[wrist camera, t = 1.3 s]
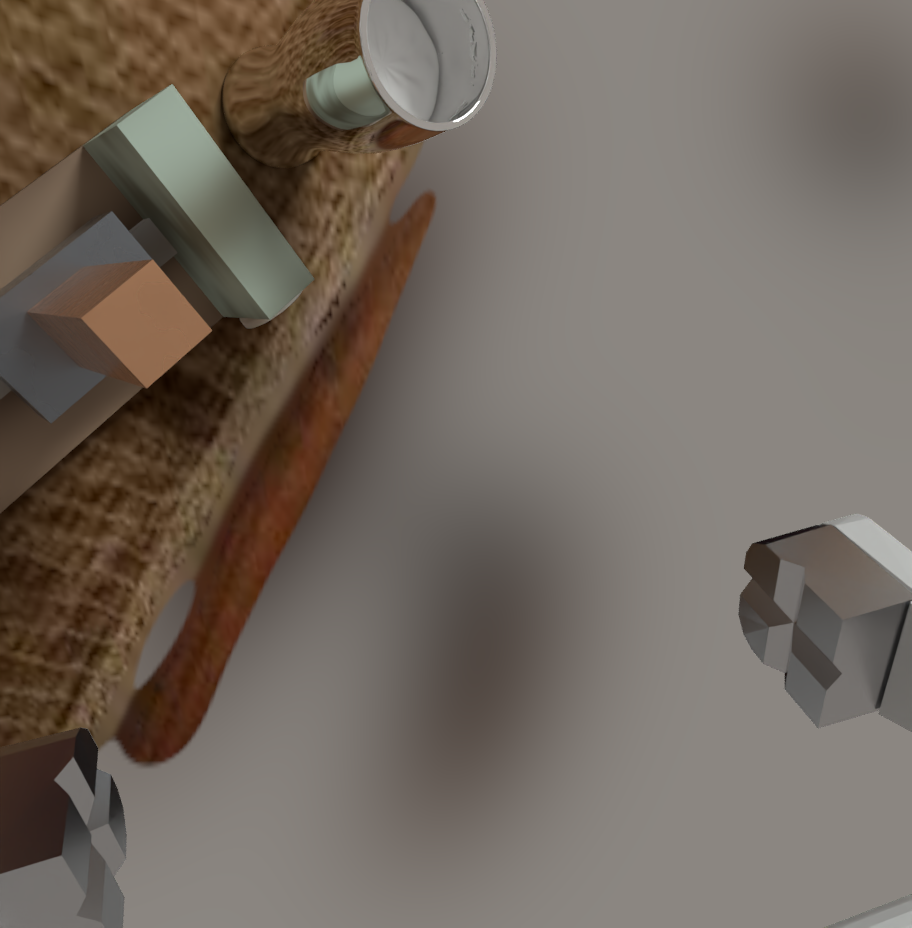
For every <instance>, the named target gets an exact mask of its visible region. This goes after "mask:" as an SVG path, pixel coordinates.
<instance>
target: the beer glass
mask: <svg viewBox="0 0 912 928" xmlns="http://www.w3.org/2000/svg"><path fill="white" fill-rule="evenodd" d="M496 61H497V49H496V39H495V34H494V29H493V24H492V20H491V17H490V14H489V11H488V9H487V7H486V4H485V2H484V0H314V1H313V2H312V3H311V4H310V5H309V6H308V7H307V8H306V9H305V10H304V11H303V12H302V13H301V15H300V16H299V17H298V18H297V19H296V21H295V22H294V23H293V24H292V26H291V27H290V28H289V30H288V31H287V32H286V34H285V35H284V36H283V38H282V39H281V40H280V41H279V43H278V44H277V45H266V46H260V47H256V48H253V49H251V50H249V51H247V52H245V53H243V54H242V55H241V56H240V57H238V58H237V59H236V61H235V62H234V63H233V64H232V66H231V67H230V69H229V71H228V73H227V75H226V78H225V81H224V86H223V93H222V103H223V110H224V115H225V119H226V122H227V124H228V127H229V129H230V131H231V133H232V135H233V136H234V138H235V140H236V141H237V142H238V144H239V145H240V146H241V147H242V148H243V149H244V150H245V151H246V152H247V153H248V154H249V155H250V156H252V157H253V158H254V159H256V160H258V161H259V162H261V163H264V164H266V165H269V166H272V167H277V168H292V167H296V166H299V165H302V164H304V163H306V162H308V161H309V160H311V159H312V158H314V157H315V156H316V155H318V154H319V153H320V152H321V151H333V152H343V153H355V154H359V153H381V152H386V151H391V150H397V149H401V148H404V147H407V146H410V145H414V144H417V143H420V142H422V141H425V140H427V139H429V138H432V137H434V136H436V135H439V134H441V133H443V132H445V131H448V130H452V129H455V128H458V127H460V126H462V125H464V124H466V123H467V122H468V121H469V120H471V119H472V118H473V117H474V116H475V115H476V114H477V113H478V112H479V111H480V109H481V108H482V107H483V105H484V103H485V102H486V100H487V98H488V96H489V93H490V91H491V88H492V85H493V81H494V77H495V70H496Z"/></svg>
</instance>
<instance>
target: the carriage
mask: <svg viewBox="0 0 912 928" xmlns="http://www.w3.org/2000/svg"><path fill="white" fill-rule="evenodd" d="M211 331H212V329H211V328H210V327H209V326H208V325H207V323H206V322H205V321H204V320H203V319H202V317H201V316H200V315H199V314H198V313H197V311H196V310H195V309H194V308H193V307H192V306H191V304H190V303H189V302H188V301H187V300H186V298H185V297H184V296H183V295H182V294H181V292H180V291H179V290H178V289H177V288H176V286H175V285H174V284H173V283H172V282H171V281H170V279H169V278H168V277H167V276H166V275H165V273H164V272H163V271H162V270H161V269H160V267H159V266H158V265H157V264H156V263H155V261H154V260H153V259H152V258H151V257H150V256H149V255H148V253H147V252H146V251H145V250H144V249H143V247H142V246H141V245H140V244H139V243H138V241H137V240H136V239H135V238H134V237H133V236H132V234H131V233H130V232H129V231H128V230H127V228H126V227H125V226H124V225H123V224H122V222H121V221H120V220H119V219H118V218H117V216H116V215H115V214H114V213H113V212H112V211H110V212H107V213H104V214H100V215H97V216H95V217H93V218H92V219H91V220H89V221H88V222H87V223H86V224H84V225H83V226H82V227H80V228H79V229H78V230H77V231H75V232H74V233H73V234H71V235H70V236H69V237H68V238H66V239H65V240H64V241H62V242H61V243H60V244H59V245H57V246H56V247H55V248H53V249H52V250H51V251H50V252H48V253H47V254H46V255H44V256H43V257H42V258H40V259H39V260H38V261H37V262H35V263H34V264H33V265H31V266H30V267H29V268H28V269H26V270H25V271H24V272H22V273H21V274H20V275H19V276H17V277H16V278H15V279H13V280H12V281H11V282H10V283H8V284H7V285H6V286H4V287H3V288H2V289H1V290H0V379H1V380H2V381H3V382H4V383H5V384H6V385H7V386H8V387H9V388H10V389H11V390H12V391H13V392H14V393H15V394H16V395H17V396H18V397H20V398H21V399H22V400H23V401H24V402H25V403H26V404H27V405H28V406H29V407H30V408H31V409H32V410H33V411H34V412H35V413H36V414H37V415H38V416H40V417H42V418H43V419H45V420H46V421H48V422H49V423H52V422H54V421H55V420H56V419H57V418H58V417H59V416H61V415H62V414H63V413H64V412H65V411H66V410H67V409H69V408H70V407H71V406H72V405H73V404H74V403H76V402H77V401H78V400H79V399H80V398H81V397H83V396H84V395H85V394H86V393H87V392H88V391H90V390H91V389H92V388H93V387H94V386H95V385H97V384H98V383H99V382H100V381H101V380H102V379H104V378H105V377H106V376H109V377H112V378H115V379H119V380H122V381H125V382H128V383H131V384H134V385H137V386H140V387H143V388H148V387H149V386H150V385H152V384H153V383H154V382H155V381H156V380H157V379H158V378H159V377H161V376H162V375H163V374H164V373H165V372H166V371H167V370H168V369H170V368H171V367H172V366H173V365H174V364H175V363H176V362H178V361H179V360H180V359H181V358H182V357H183V356H184V355H185V354H187V353H188V352H189V351H190V350H191V349H192V348H193V347H194V346H196V345H197V344H198V343H199V342H200V341H201V340H202V339H204V338H205V337H206V336H207V335H208V334H209V333H210V332H211Z"/></svg>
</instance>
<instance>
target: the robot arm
mask: <svg viewBox="0 0 912 928" xmlns="http://www.w3.org/2000/svg"><path fill="white" fill-rule="evenodd" d="M744 569H745V570H746V571H747V572H748V573H749V575H750V576H751V577H752V580H751V581H750V582H749V584H748V585H747V586H746V588H745V589H744V590H743V592H742V593H741V595H740V602H739V618H740V622H741V626H742V630H743V634H744V636H745V637H746V640H747V642H748V644H749V645H750V647H751V649H752V650H753V652H754V653H755V654H756V655H757V657H758V658H759V659H760V660H761V662H763V664H765V665H767V666H770V667H772V668H774V669H777V670H779V671H781V672H784V673H785V690H786V691H787V692H788V694H789V695H790V696H791V697H792V698H793V700H794V701H795V702H796V703H797V704H798V705H799V706H800V708H801V709H802V710H803V711H804V712H805V714H806V715H807V716H808V717H809V718H810V719H811V721H812V722H813V723H814V724H815V725H816V726H817V728H821V727H824V726H828V725H831V724H834V723H838V722H841V721H844V720H848V719H851V718H855V717H858V716H861V715H865V714H868V713H872V712H875V711H878V710H879V715H881V716H883V717H885V718H887V719H889V720H891V721H892V722H894V723H896V724H898V725H900V726H902V727H903V728H905V729H907V730H909V731H911V732H912V552H911V551H910V550H909V549H908V548H906V547H905V546H904V545H903V544H901V543H900V542H899V541H898V540H896V539H895V538H894V537H893V536H891V535H890V534H889V533H888V532H886V531H885V530H884V529H883V528H881V527H880V526H879V525H877V524H876V523H875V522H874V521H872V520H871V519H870V518H868V517H866V516H863V515H860V514H853V515H850V516H846V517H843V518H839V519H836V520H832V521H829V522H825V523H822V524H821V525H815V526H811V527H808V528H804V529H801V530H797V531H794V532H790V533H787V534H784V535H780V536H776V537H773V538H769V539H766V540H763V541H759V542H755V543H753V544H752V545H751V546H750V548H749V550H748V551H747V552H746V558H745V564H744ZM97 760H98V747H97V745H96V743H95V741H94V740H93V738H92V736H91V734H90V732H89V730H88V729H86V728H77V729H73V730H69V731H65V732H61V733H57V734H53V735H49V736H45V737H41V738H37V739H33V740H29V741H25V742H21V743H17V744H13V745H9V746H5V747H1V748H0V928H123V916H124V895H123V893H122V892H121V890H120V888H119V886H118V884H117V882H116V880H115V878H114V876H115V875H116V873H117V872H118V870H119V869H120V867H121V866H122V864H123V863H124V861H125V859H126V836H127V834H126V826H125V819H124V810H123V805H122V802H121V798H120V795H119V792H118V789H117V786H116V784H115V782H114V780H113V778H112V776H111V774H108V773H106V772H104V771H101V770H99V769H97ZM824 928H912V894H911V895H908V896H905V897H902V898H900V899H897V900H895V901H892V902H889V903H887V904H884V905H882V906H879V907H877V908H874V909H871V910H868V911H866V912H863V913H861V914H858V915H855V916H853V917H850V918H848V919H845V920H842V921H840V922H837V923H835V924H832V925H829V926H827V927H824Z"/></svg>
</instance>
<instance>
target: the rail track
mask: <svg viewBox="0 0 912 928" xmlns="http://www.w3.org/2000/svg"><path fill="white" fill-rule="evenodd" d="M110 211H112V212H113V213H114V214H115V215H116V216H117V218H118V219H119V220H120V221H121V222H122V224H123V225H124V226H125V227H126V228H127V230H128V231H129V232H130V233H131V234H132V236H133V237H134V238H135V239H136V240H137V241H138V243H139V244H140V245H141V246H142V247H143V249H144V250H145V251H146V252H147V253H148V255H149V256H150V257H151V258H152V259H153V260H154V261H155V263H156V264H157V265H158V266H159V267H160V269H161V270H162V271H163V272H164V273H165V275H166V276H167V277H168V278H169V279H170V281H171V282H172V283H173V284H174V285H175V286H176V288H177V289H178V290H179V291H180V292H181V294H182V295H183V296H184V297H185V298H186V300H187V301H188V302H189V303H190V304H191V306H192V307H193V308H194V309H195V310H196V311H197V313H198V314H199V315H200V316H201V317H202V319H203V320H204V321H205V322H206V323H207V325H208V326H209V327H210V328H211V327H212V326H213V325H214V324H216V323H217V322H218V321H219V320H220V319H221V318H222V317H235V318H240V321H241V322H242V324H243V325H244V326H245V327H246V328H248V329H251V328H255V327H258V326H260V325H262V324H264V323H266V322H268V321H270V320H271V319H273V318H274V317H276V316H277V315H279V314H280V313H281V312H283V311H284V310H285V309H286V308H288V307H289V306H290V305H291V304H292V303H293V302H294V301H295V300H296V299H297V298H298V296H299V295H300V294H301V292H302V290H303V289H304V288H306V287H307V286H308V285H309V284H310V283H311V282H312V281H313V280H314V278H313V276H312V275H311V274H310V272H309V271H308V269H307V268H306V267H305V265H304V264H303V263H302V261H301V260H300V259H299V257H298V256H297V254H296V253H295V252H294V250H293V249H292V248H291V246H290V245H289V243H288V242H287V241H286V239H285V238H284V237H283V235H282V234H281V232H280V231H279V230H278V228H277V227H276V226H275V224H274V223H273V221H272V220H271V219H270V217H269V216H268V215H267V213H266V212H265V211H264V209H263V208H262V206H261V205H260V204H259V202H258V201H257V200H256V198H255V197H254V195H253V194H252V193H251V191H250V190H249V189H248V187H247V186H246V184H245V183H244V182H243V180H242V179H241V178H240V176H239V175H238V173H237V172H236V171H235V169H234V168H233V167H232V165H231V164H230V162H229V161H228V160H227V158H226V157H225V156H224V154H223V153H222V152H221V150H220V149H219V147H218V146H217V145H216V143H215V142H214V141H213V139H212V138H211V136H210V135H209V134H208V132H207V131H206V130H205V128H204V127H203V125H202V124H201V123H200V121H199V120H198V119H197V117H196V116H195V114H194V113H193V112H192V110H191V109H190V108H189V106H188V105H187V104H186V102H185V101H184V99H183V98H182V97H181V95H180V94H179V93H178V91H177V90H176V88H175V87H174V86H173V84H172V85H170V86H168V87H167V88H165V89H164V90H162V91H160V92H159V93H157V94H156V95H154V96H153V97H151V98H149V99H148V100H146V101H145V102H143V103H142V104H140V105H138V106H137V107H135V108H134V109H132V110H131V111H129V112H127V113H126V114H124V115H123V116H121V117H120V118H119V119H117V120H116V121H115V122H113V123H112V124H111V125H109V126H108V127H107V128H105V129H104V130H102V131H101V132H100V133H98V134H97V135H96V136H94V137H93V138H92V139H90V140H89V141H87V142H86V143H85V144H83V145H82V146H81V147H79V148H78V149H77V150H75V151H74V152H73V153H71V154H70V155H68V156H67V157H66V158H64V159H63V160H62V161H60V162H59V163H58V164H56V165H55V166H54V167H52V168H51V169H49V170H48V171H47V172H45V173H44V174H43V175H41V176H40V177H39V178H37V179H36V180H34V181H33V182H32V183H30V184H29V185H28V186H26V187H25V188H24V189H22V190H21V191H20V192H18V193H17V194H15V195H14V196H13V197H11V198H10V199H9V200H7V201H6V202H5V203H3V204H2V205H0V290H1V289H2V288H3V287H4V286H6V285H7V284H8V283H10V282H11V281H12V280H13V279H15V278H16V277H17V276H19V275H20V274H21V273H22V272H24V271H25V270H26V269H28V268H29V267H30V266H31V265H33V264H34V263H35V262H37V261H38V260H39V259H40V258H42V257H43V256H44V255H46V254H47V253H48V252H50V251H51V250H52V249H53V248H55V247H56V246H57V245H59V244H60V243H61V242H62V241H64V240H65V239H66V238H68V237H69V236H70V235H71V234H73V233H74V232H75V231H77V230H78V229H79V228H80V227H82V226H83V225H84V224H86V223H87V222H88V221H89V220H91V219H92V218H93V217H95V216H97V215H100V214H104V213H107V212H110ZM142 388H143V387H140V386H137V385H134V384H131V383H128V382H125V381H122V380H119V379H115V378H112V377H109V376H106V377H105V378H104V379H102V380H101V381H100V382H99V383H98V384H97V385H95V386H94V387H93V388H92V389H91V390H90V391H88V392H87V393H86V394H85V395H84V396H83V397H81V398H80V399H79V400H78V401H77V402H76V403H74V404H73V405H72V406H71V407H70V408H69V409H67V410H66V411H65V412H64V413H63V414H62V415H61V416H59V417H58V418H57V419H56V420H55V421H54V422H52V423H49V422H48V421H46V420H45V419H43V418H42V417H40V416H38V415H37V414H36V413H35V412H34V411H33V410H32V409H31V408H30V407H29V406H28V405H27V404H26V403H25V402H24V401H23V400H22V399H21V398H20V397H18V396H17V395H16V394H15V393H14V392H13V391H12V390H11V389H10V388H9V387H8V386H7V385H6V384H5V383H4V382H3V381H2V380H1V379H0V513H1V512H2V511H4V510H5V509H6V508H7V507H8V506H9V505H10V504H11V503H13V502H14V501H15V500H16V499H17V498H18V497H19V496H21V495H22V494H23V493H24V492H25V491H26V490H27V489H28V488H30V487H31V486H32V485H33V484H34V483H35V482H36V481H38V480H39V479H40V478H41V477H42V476H43V475H44V474H46V473H47V472H48V471H49V470H50V469H51V468H52V467H53V466H55V465H56V464H57V463H58V462H59V461H60V460H61V459H63V458H64V457H65V456H66V455H67V454H68V453H69V452H70V451H72V450H73V449H74V448H75V447H76V446H77V445H78V444H80V443H81V442H82V441H83V440H84V439H85V438H86V437H87V436H89V435H90V434H91V433H92V432H93V431H94V430H95V429H97V428H98V427H99V426H100V425H101V424H102V423H103V422H104V421H106V420H107V419H108V418H109V417H110V416H111V415H112V414H114V413H115V412H116V411H117V410H118V409H119V408H120V407H121V406H123V405H124V404H125V403H126V402H127V401H128V400H129V399H131V398H132V397H133V396H134V395H135V394H136V393H137V392H138V391H140V390H141V389H142Z"/></svg>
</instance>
